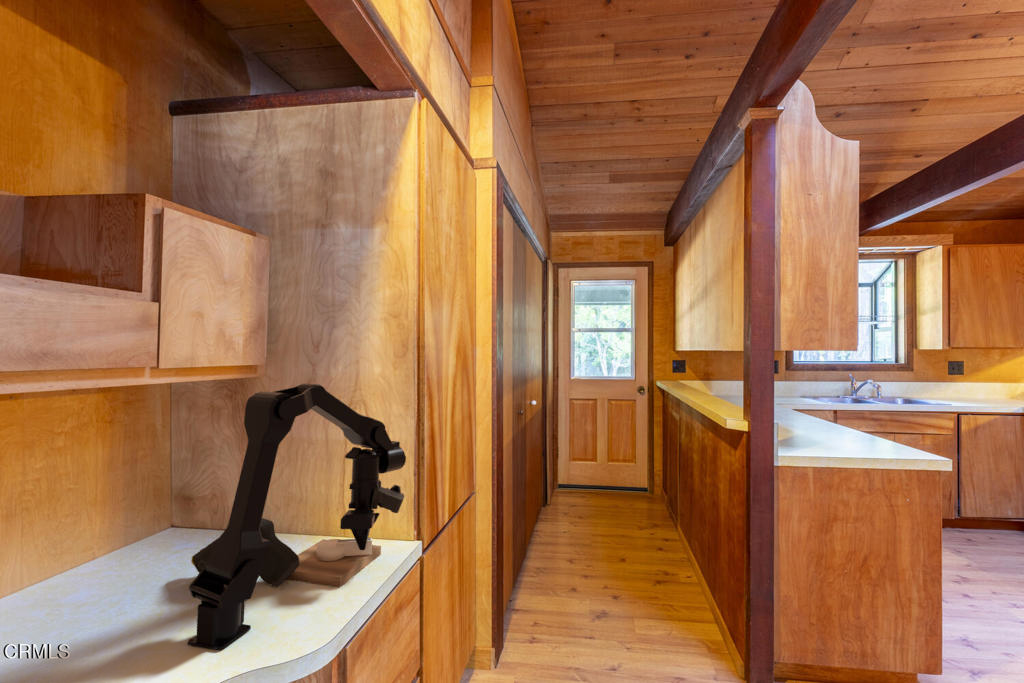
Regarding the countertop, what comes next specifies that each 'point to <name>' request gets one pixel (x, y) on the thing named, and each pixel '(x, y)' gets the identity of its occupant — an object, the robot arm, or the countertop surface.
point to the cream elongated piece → (341, 549)
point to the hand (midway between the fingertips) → (362, 549)
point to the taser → (277, 560)
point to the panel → (330, 567)
